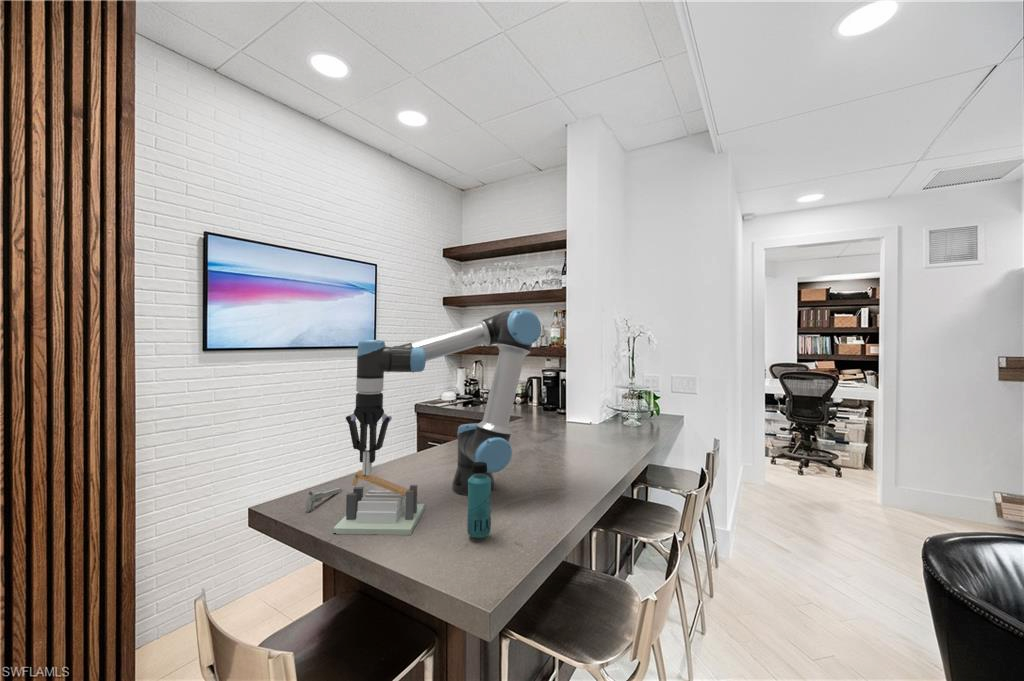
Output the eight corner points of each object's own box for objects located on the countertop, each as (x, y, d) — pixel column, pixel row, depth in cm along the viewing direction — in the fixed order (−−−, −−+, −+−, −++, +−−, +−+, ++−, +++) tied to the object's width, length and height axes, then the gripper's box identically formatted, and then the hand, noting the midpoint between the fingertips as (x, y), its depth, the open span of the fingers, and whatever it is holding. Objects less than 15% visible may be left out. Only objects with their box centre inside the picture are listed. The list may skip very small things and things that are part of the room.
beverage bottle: (471, 545, 109) (472, 467, 109) (463, 534, 115) (464, 461, 115) (494, 541, 112) (495, 465, 112) (485, 530, 118) (486, 458, 118)
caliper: (309, 514, 128) (309, 493, 128) (305, 513, 128) (306, 493, 128) (343, 490, 148) (344, 472, 148) (340, 490, 149) (341, 472, 149)
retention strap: (411, 503, 125) (415, 491, 125) (408, 507, 122) (413, 495, 122) (355, 481, 125) (360, 469, 125) (351, 484, 122) (356, 472, 122)
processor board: (424, 508, 133) (425, 478, 133) (410, 535, 115) (411, 499, 115) (357, 507, 133) (357, 477, 133) (333, 533, 115) (333, 498, 115)
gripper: (396, 391, 127) (393, 470, 127) (351, 390, 127) (349, 468, 127) (388, 394, 120) (385, 478, 120) (341, 393, 120) (338, 476, 120)
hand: (367, 473), depth 123 cm, fingers closed
